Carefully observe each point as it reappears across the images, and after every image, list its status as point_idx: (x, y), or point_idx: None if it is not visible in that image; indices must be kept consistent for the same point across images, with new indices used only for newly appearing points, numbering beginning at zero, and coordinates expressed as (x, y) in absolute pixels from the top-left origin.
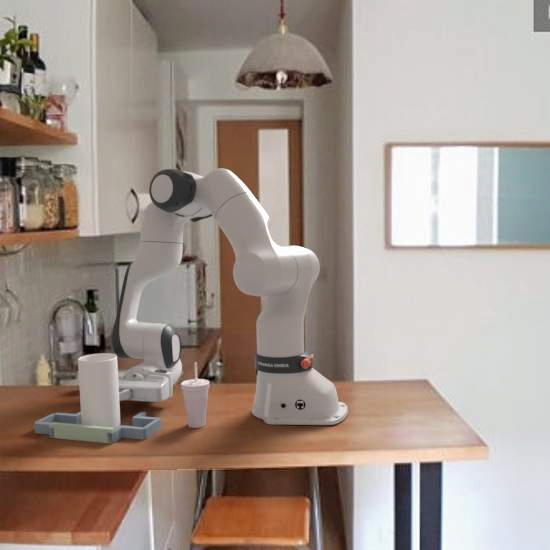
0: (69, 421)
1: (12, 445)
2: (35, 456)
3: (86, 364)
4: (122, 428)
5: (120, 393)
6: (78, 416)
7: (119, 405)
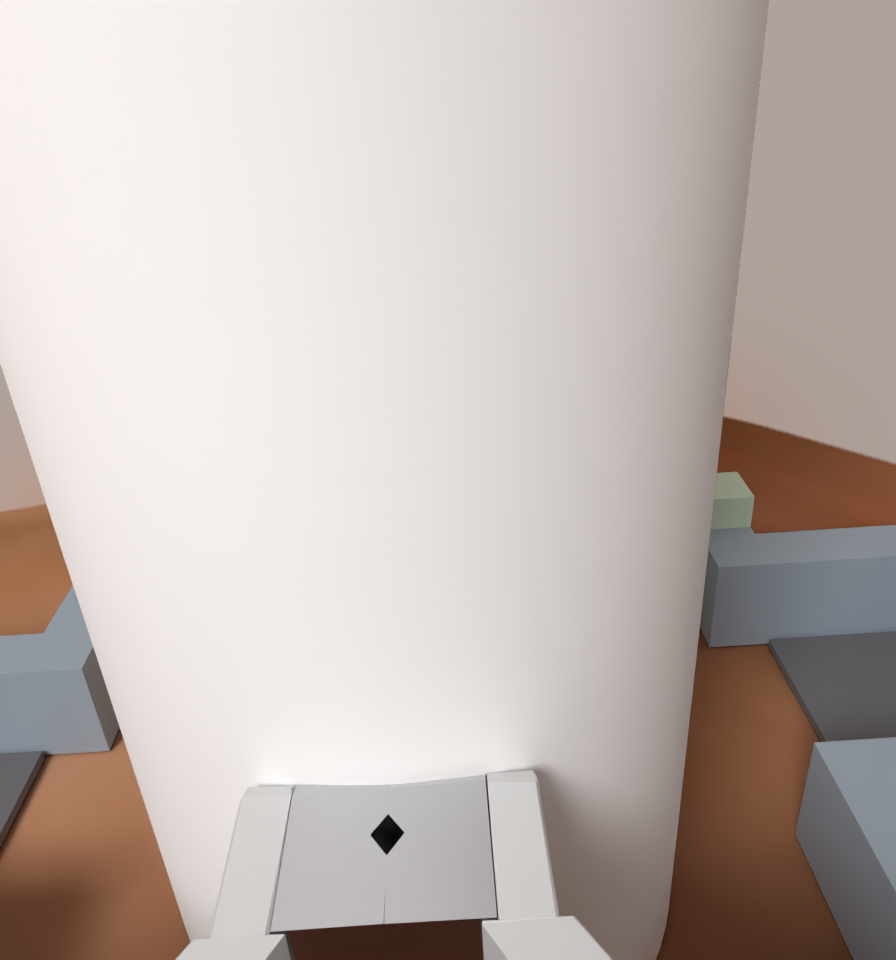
0: None
1: (820, 464)
2: None
3: None
4: (36, 641)
5: (191, 950)
6: (830, 790)
7: (131, 760)
